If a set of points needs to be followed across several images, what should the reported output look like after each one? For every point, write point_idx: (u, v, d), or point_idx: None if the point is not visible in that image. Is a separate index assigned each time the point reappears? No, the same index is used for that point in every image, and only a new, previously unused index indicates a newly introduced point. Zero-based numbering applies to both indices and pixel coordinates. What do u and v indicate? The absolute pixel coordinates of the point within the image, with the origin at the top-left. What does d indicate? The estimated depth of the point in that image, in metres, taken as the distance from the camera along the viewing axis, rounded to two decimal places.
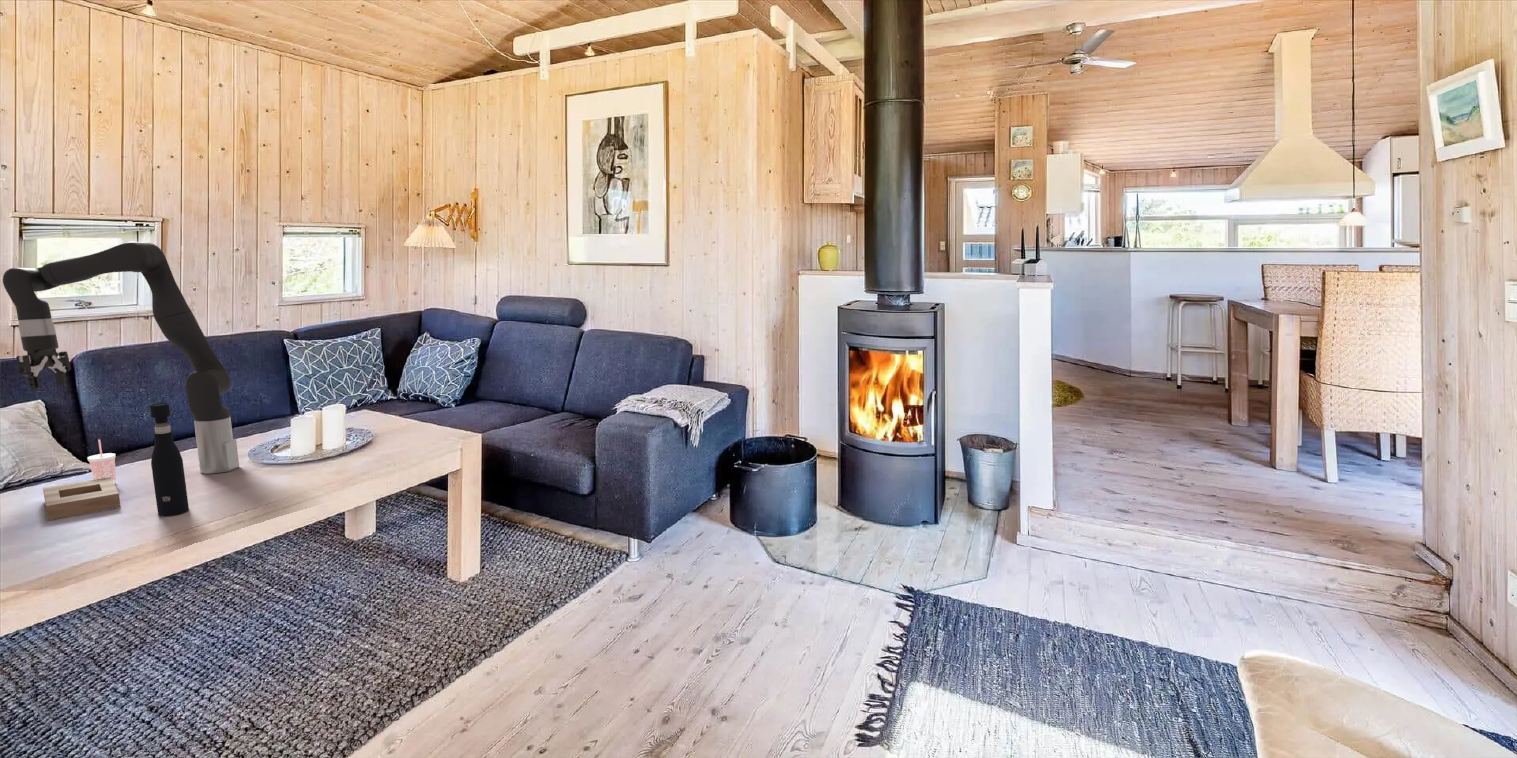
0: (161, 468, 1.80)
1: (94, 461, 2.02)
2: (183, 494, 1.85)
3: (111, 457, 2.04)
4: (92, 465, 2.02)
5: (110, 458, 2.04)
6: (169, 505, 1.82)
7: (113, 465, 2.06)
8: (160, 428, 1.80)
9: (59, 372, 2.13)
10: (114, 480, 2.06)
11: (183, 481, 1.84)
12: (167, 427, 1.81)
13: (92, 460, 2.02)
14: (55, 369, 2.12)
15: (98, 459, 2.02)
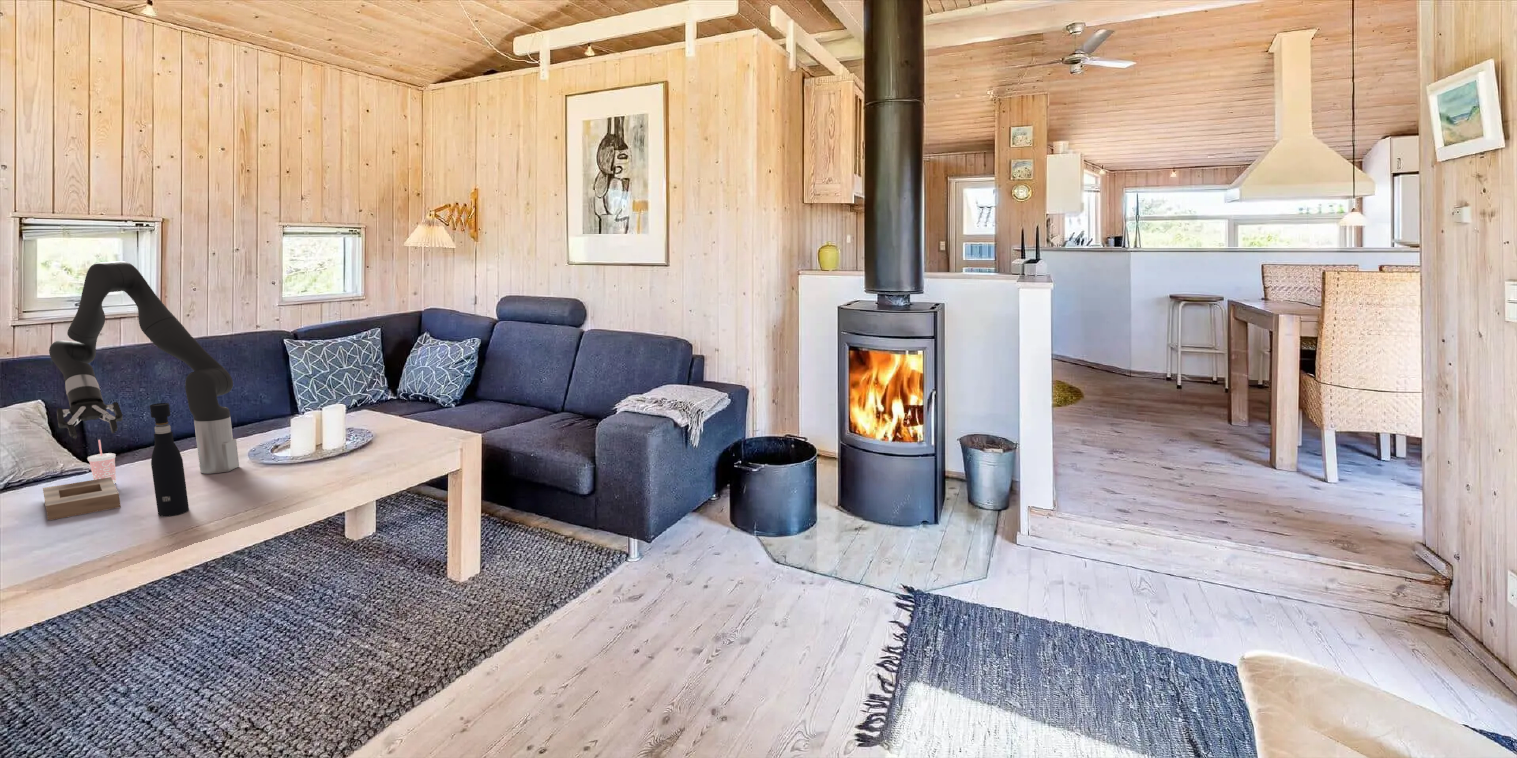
0: (161, 468, 1.80)
1: (94, 461, 2.02)
2: (183, 494, 1.85)
3: (111, 457, 2.04)
4: (92, 465, 2.02)
5: (110, 458, 2.04)
6: (169, 505, 1.82)
7: (113, 465, 2.06)
8: (160, 428, 1.80)
9: (110, 421, 2.13)
10: (114, 480, 2.06)
11: (183, 481, 1.84)
12: (167, 427, 1.81)
13: (92, 460, 2.02)
14: (109, 420, 2.14)
15: (98, 459, 2.02)
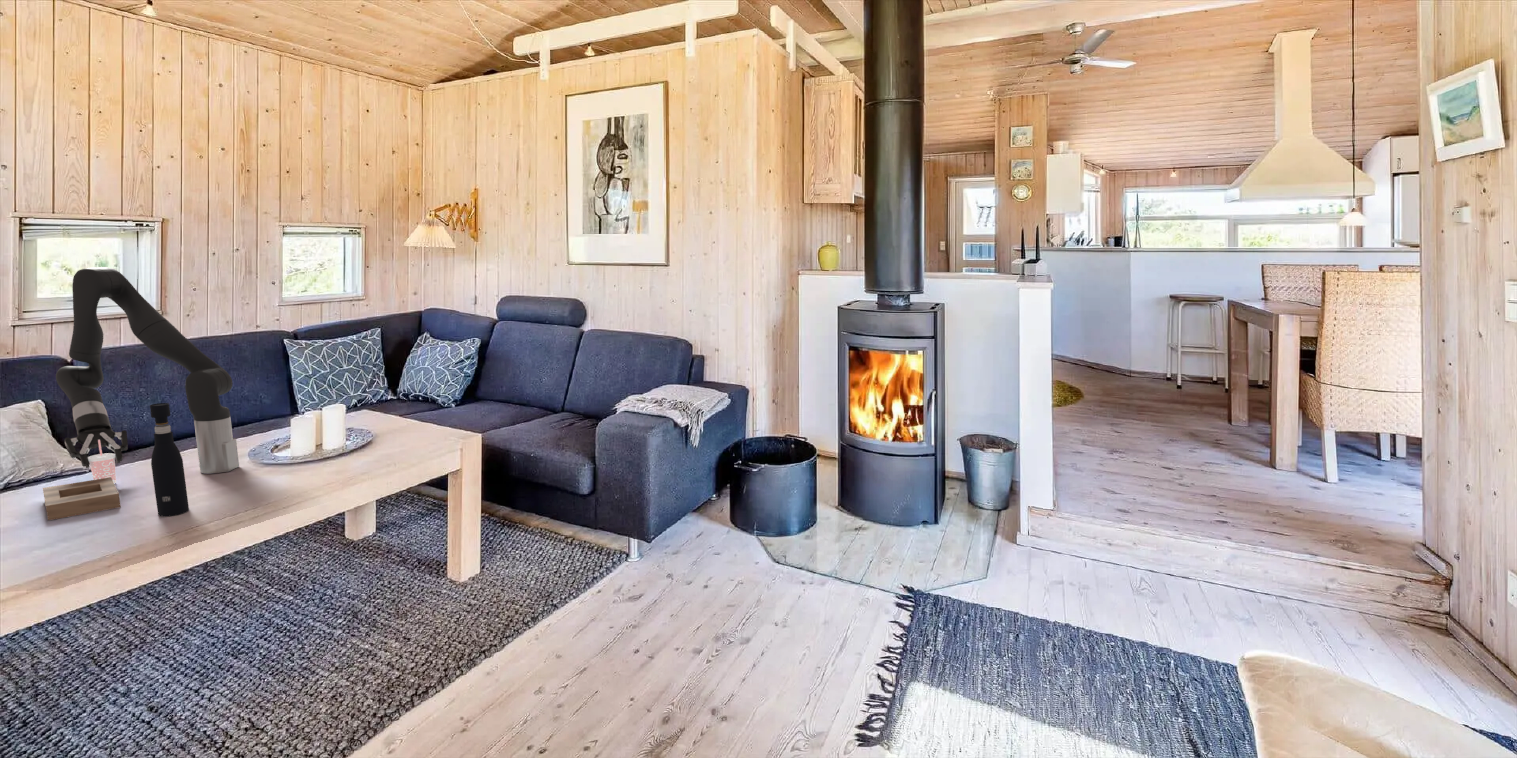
0: (161, 468, 1.80)
1: (94, 461, 2.02)
2: (183, 494, 1.85)
3: (111, 457, 2.04)
4: (92, 465, 2.02)
5: (110, 458, 2.04)
6: (169, 505, 1.82)
7: (113, 465, 2.06)
8: (160, 428, 1.80)
9: (115, 451, 2.07)
10: (114, 480, 2.06)
11: (183, 481, 1.84)
12: (167, 427, 1.81)
13: (92, 460, 2.02)
14: (114, 449, 2.08)
15: (98, 459, 2.02)
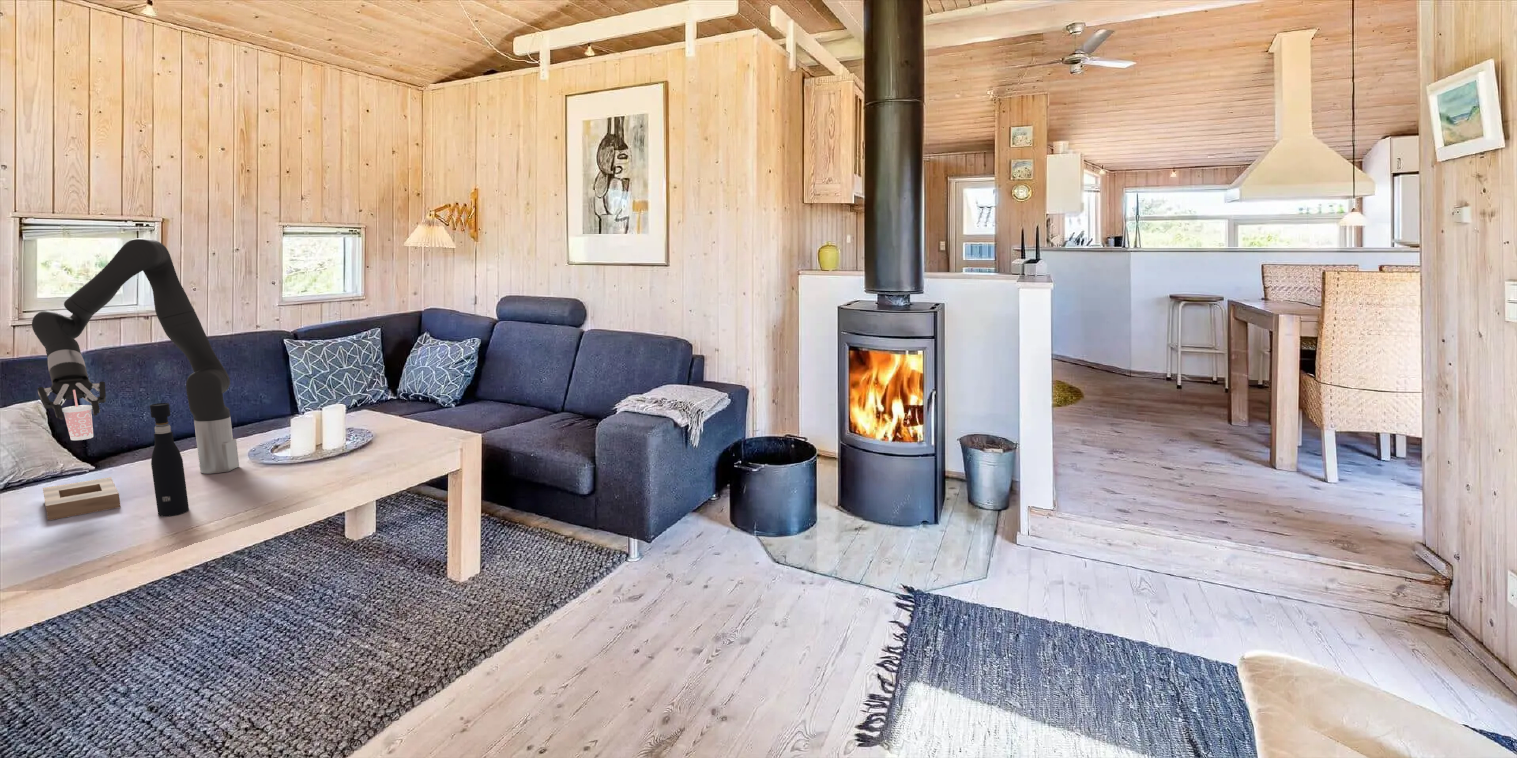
0: (161, 468, 1.80)
1: (68, 412, 1.89)
2: (183, 494, 1.85)
3: (87, 408, 1.92)
4: (66, 416, 1.89)
5: (86, 409, 1.91)
6: (169, 505, 1.82)
7: (89, 417, 1.93)
8: (160, 428, 1.80)
9: None
10: (91, 433, 1.93)
11: (183, 481, 1.84)
12: (167, 427, 1.81)
13: (66, 411, 1.89)
14: (91, 401, 1.95)
15: (73, 410, 1.89)
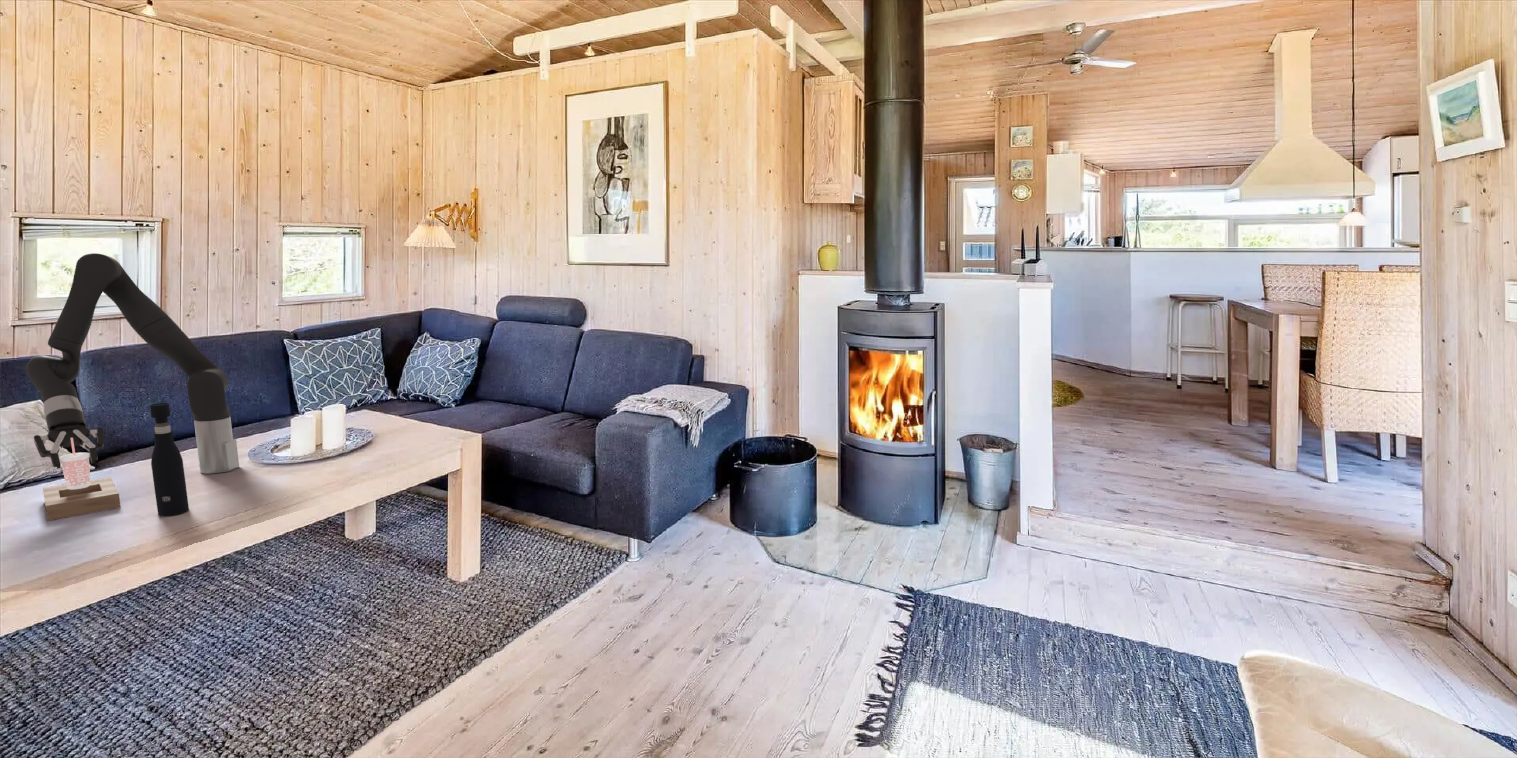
0: (161, 468, 1.80)
1: (66, 461, 1.85)
2: (183, 494, 1.85)
3: (85, 457, 1.87)
4: (64, 465, 1.85)
5: (83, 457, 1.87)
6: (169, 505, 1.82)
7: (87, 465, 1.88)
8: (160, 428, 1.80)
9: None
10: (88, 482, 1.89)
11: (183, 481, 1.84)
12: (167, 427, 1.81)
13: (63, 460, 1.84)
14: None
15: (70, 459, 1.85)
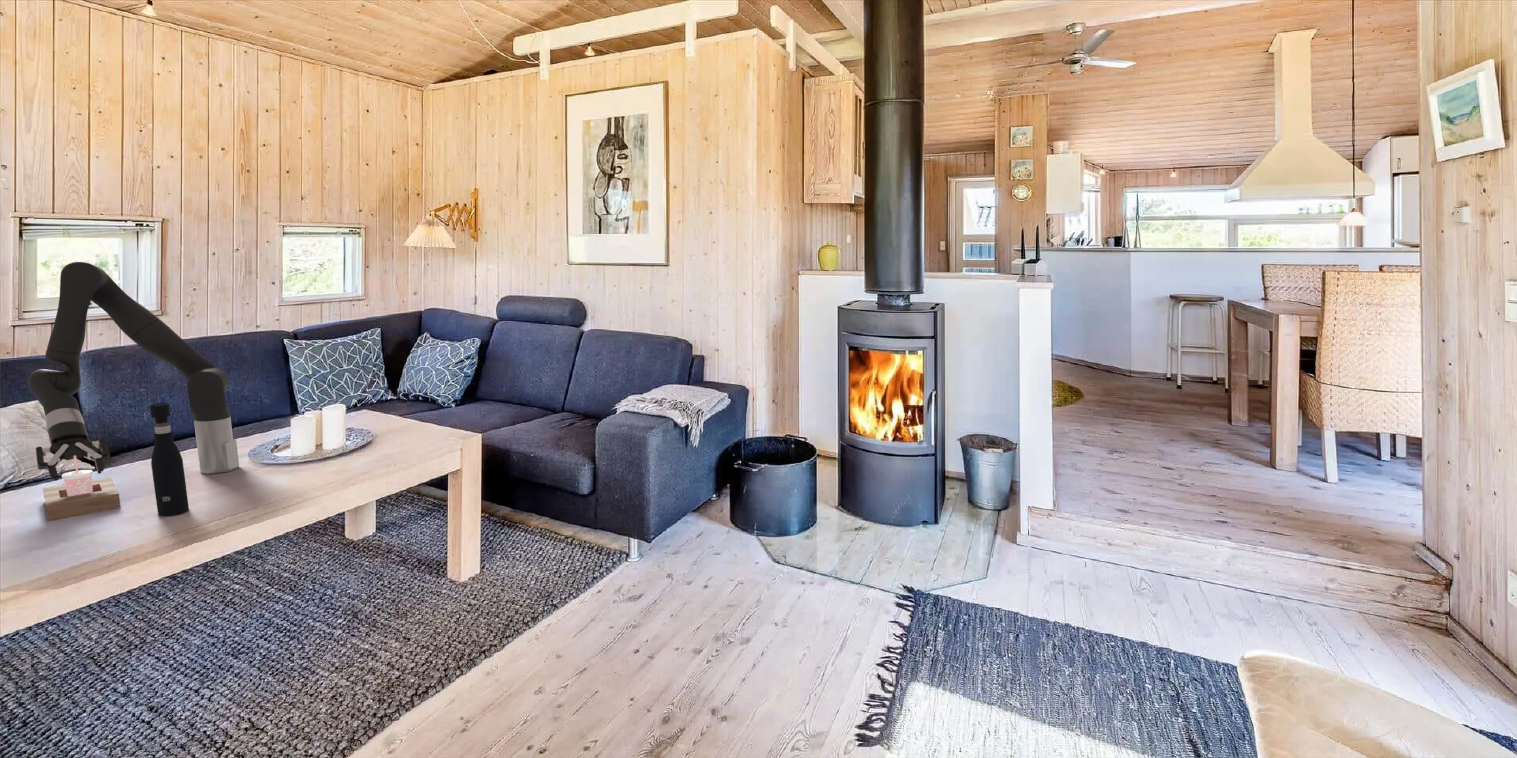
0: (161, 468, 1.80)
1: (69, 479, 1.86)
2: (183, 494, 1.85)
3: (88, 474, 1.88)
4: (67, 483, 1.86)
5: (86, 475, 1.88)
6: (169, 505, 1.82)
7: (90, 483, 1.89)
8: (160, 428, 1.80)
9: None
10: None
11: (183, 481, 1.84)
12: (167, 427, 1.81)
13: (67, 478, 1.85)
14: (95, 459, 1.92)
15: (73, 477, 1.86)
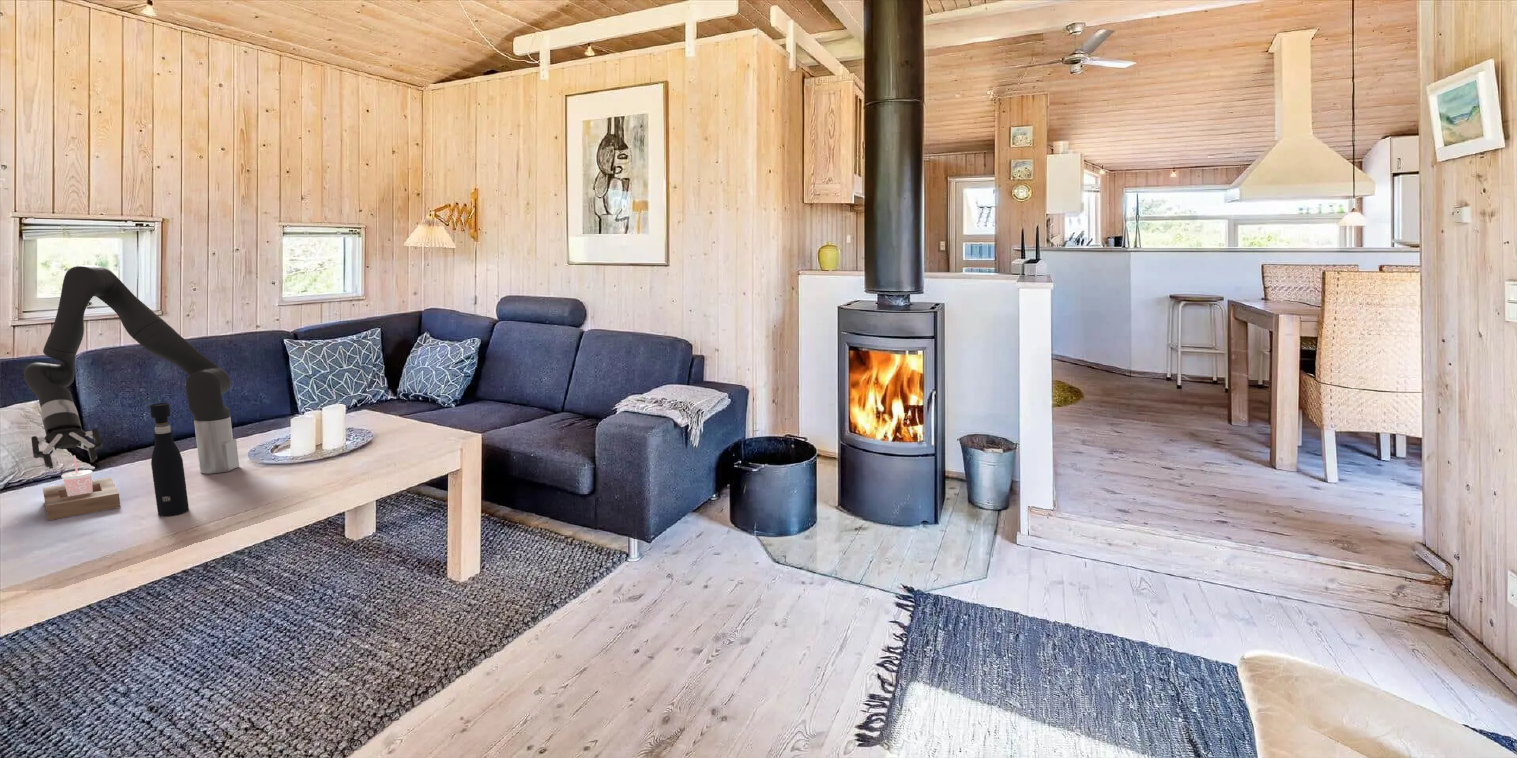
0: (161, 468, 1.80)
1: (69, 479, 1.86)
2: (183, 494, 1.85)
3: (87, 474, 1.88)
4: (66, 483, 1.86)
5: (86, 475, 1.88)
6: (169, 505, 1.82)
7: (90, 483, 1.89)
8: (160, 428, 1.80)
9: (89, 449, 2.00)
10: None
11: (183, 481, 1.84)
12: (167, 427, 1.81)
13: (66, 478, 1.85)
14: (88, 448, 2.01)
15: (73, 477, 1.86)
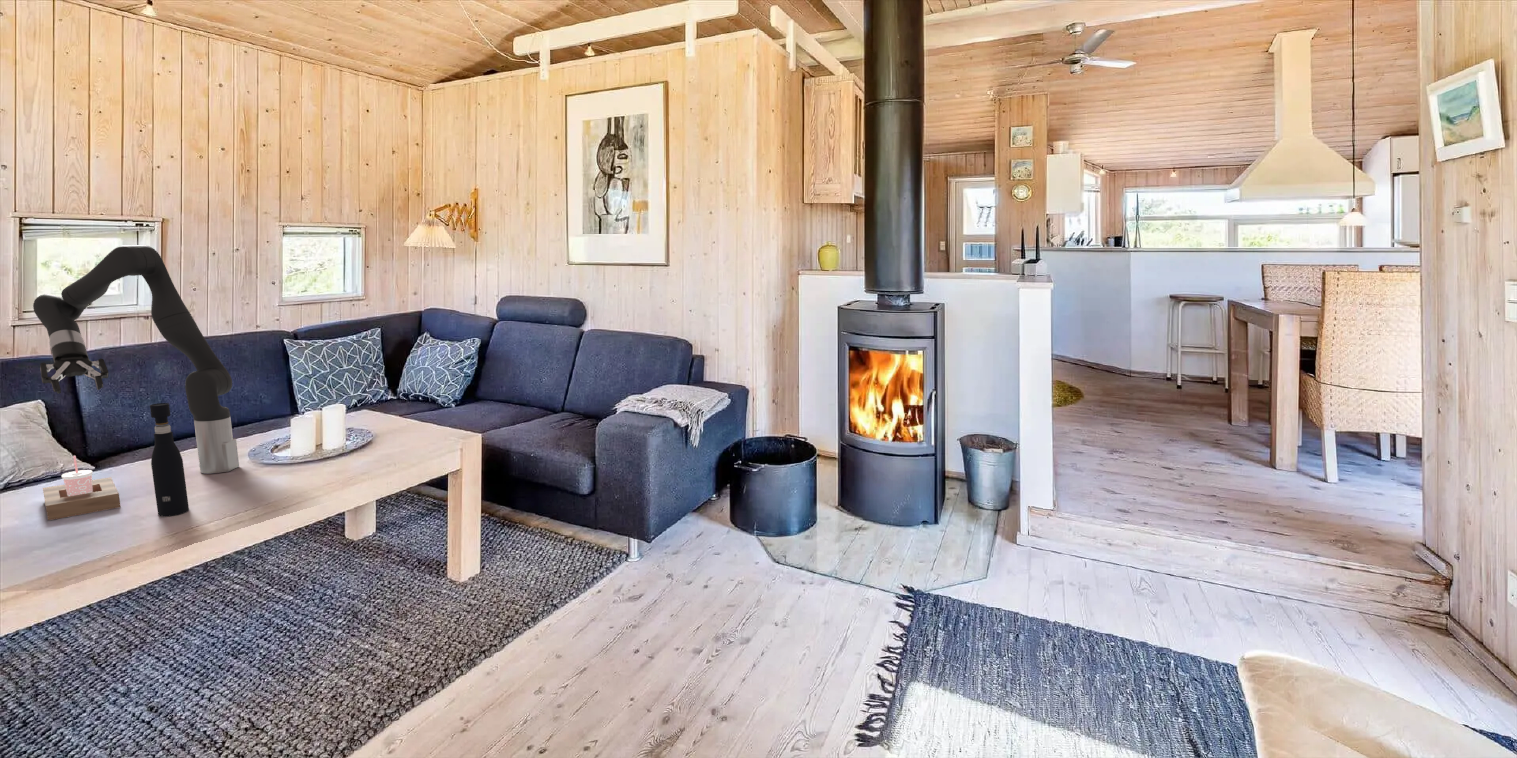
0: (161, 468, 1.80)
1: (69, 479, 1.86)
2: (183, 494, 1.85)
3: (87, 474, 1.88)
4: (66, 483, 1.86)
5: (86, 475, 1.88)
6: (169, 505, 1.82)
7: (90, 483, 1.89)
8: (160, 428, 1.80)
9: None
10: None
11: (183, 481, 1.84)
12: (167, 427, 1.81)
13: (66, 478, 1.85)
14: (94, 376, 2.08)
15: (73, 477, 1.86)
